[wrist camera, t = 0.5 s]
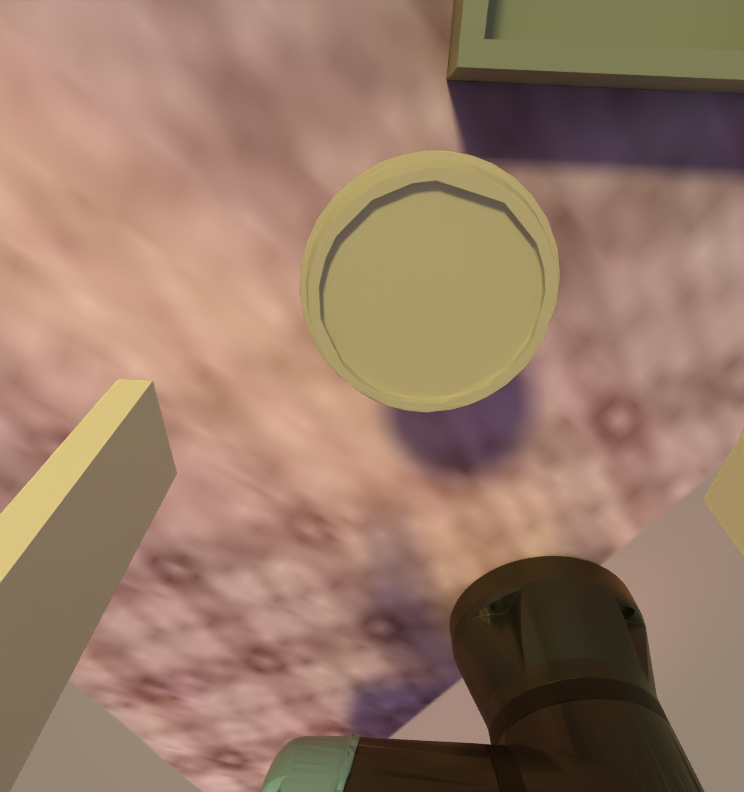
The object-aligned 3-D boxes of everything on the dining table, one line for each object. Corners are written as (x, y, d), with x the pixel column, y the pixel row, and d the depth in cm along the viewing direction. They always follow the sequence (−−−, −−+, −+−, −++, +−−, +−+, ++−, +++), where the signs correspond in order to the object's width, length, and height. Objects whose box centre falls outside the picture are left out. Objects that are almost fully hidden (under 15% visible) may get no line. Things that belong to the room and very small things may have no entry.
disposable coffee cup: (532, 249, 28) (626, 308, 17) (407, 356, 31) (418, 465, 20) (421, 108, 25) (448, 71, 14) (295, 243, 28) (237, 298, 17)
